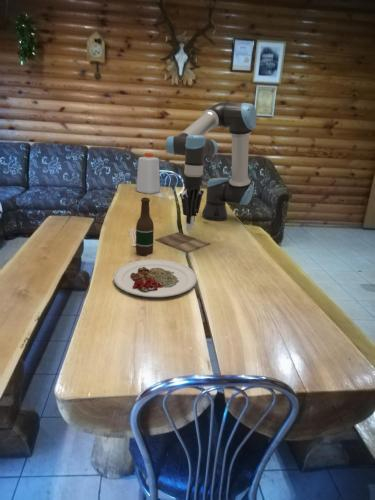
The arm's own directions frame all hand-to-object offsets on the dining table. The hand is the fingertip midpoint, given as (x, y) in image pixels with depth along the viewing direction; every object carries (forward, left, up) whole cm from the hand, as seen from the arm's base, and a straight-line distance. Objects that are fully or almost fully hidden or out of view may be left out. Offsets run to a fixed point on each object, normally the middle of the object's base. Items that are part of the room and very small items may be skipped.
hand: (189, 230), depth 148 cm
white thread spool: (-68, -99, -11) cm, 120 cm away
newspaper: (+6, -27, -11) cm, 30 cm away
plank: (-6, -3, -10) cm, 12 cm away
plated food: (+29, +9, -11) cm, 32 cm away
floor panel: (-6, -13, -10) cm, 18 cm away
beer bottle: (+15, -12, -10) cm, 22 cm away
